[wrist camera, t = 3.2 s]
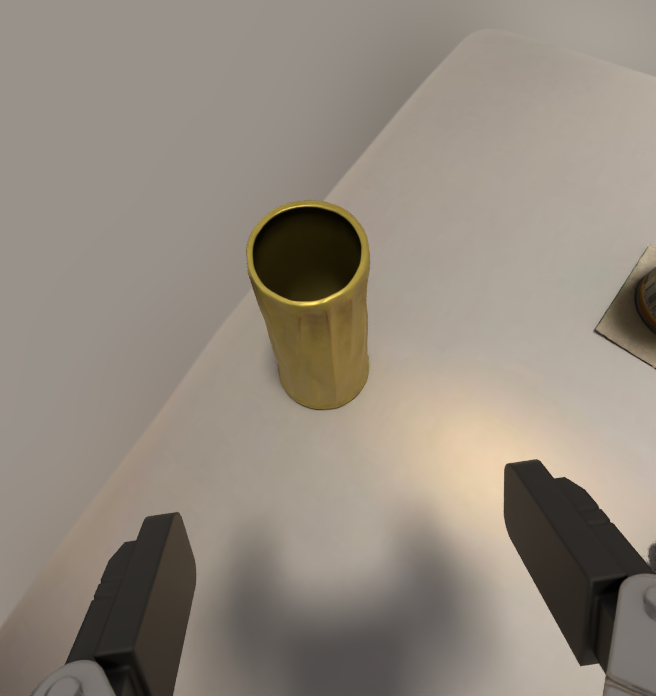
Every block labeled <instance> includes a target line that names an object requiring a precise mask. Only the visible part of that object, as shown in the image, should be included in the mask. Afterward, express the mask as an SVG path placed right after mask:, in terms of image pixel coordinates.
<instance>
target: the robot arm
mask: <svg viewBox="0 0 656 696" xmlns="http://www.w3.org/2000/svg"><path fill="white" fill-rule="evenodd" d="M504 519H505V524H506V528H507V531H508V534H509V537H510V539H511V541H512V543H513V545H514V546H515V548H516V550H517V552H518V554H519V555H520V557H521V559H522V561H523V563H524V565H525V566H526V568H527V570H528V572H529V574H530V575H531V577H532V579H533V581H534V583H535V584H536V586H537V588H538V590H539V592H540V594H541V595H542V597H543V599H544V601H545V603H546V604H547V606H548V608H549V610H550V612H551V614H552V615H553V617H554V619H555V621H556V623H557V624H558V626H559V628H560V630H561V632H562V634H563V635H564V637H565V639H566V641H567V643H568V644H569V646H570V648H571V650H572V652H573V654H574V655H575V657H576V659H577V661H578V663H579V664H580V666H585V665H591V664H598V663H599V664H600V666H601V667H602V669H603V671H604V672H605V674H606V678H605V684H604V691H603V696H656V574H655V573H654V571H653V570H652V569H651V568H650V567H649V566H648V564H647V563H646V562H645V561H644V560H643V558H642V557H641V556H640V555H639V554H638V552H637V551H636V550H635V549H634V548H633V546H632V545H631V544H630V543H629V542H628V540H627V539H626V538H625V537H624V536H623V534H622V533H621V532H620V531H619V530H618V529H617V527H616V526H615V525H614V524H613V523H611V522H610V519H609V518H608V517H607V515H606V514H605V513H604V512H603V511H602V509H599V507H598V505H597V503H596V502H595V501H594V500H593V499H592V497H591V496H590V495H589V494H588V493H587V492H586V490H585V489H583V488H581V487H580V486H578V485H577V484H575V483H574V482H572V481H570V480H569V479H567V478H566V477H562V478H555V479H554V478H553V477H552V475H551V474H550V473H549V472H548V470H547V469H546V468H545V466H544V465H543V464H542V463H541V461H539V460H537V459H535V460H528V461H522V462H515V463H508V464H506V465H505V469H504ZM195 585H196V565H195V559H194V556H193V552H192V549H191V546H190V543H189V539H188V536H187V533H186V530H185V526H184V523H183V520H182V517H181V515H180V514H179V513H178V512H175V513H168V514H161V515H155V516H148V517H146V518H145V519H144V521H143V524H142V527H141V529H140V532H139V535H138V537H137V540H136V541H130V542H125V543H124V544H123V545H122V546H121V547H120V548H119V550H118V551H117V552H116V553H115V554H114V555H113V556H112V558H111V559H110V560H109V562H108V564H107V566H106V569H105V571H104V573H103V576H102V578H101V584H99V585H98V588H97V590H96V592H95V595H94V600H92V602H91V604H90V606H89V609H88V611H87V614H86V616H85V618H84V621H83V623H82V625H81V628H80V630H79V632H78V635H77V637H76V640H75V642H74V644H73V647H72V649H71V651H70V654H69V656H68V658H67V661H66V663H65V665H64V666H62V667H60V668H58V669H57V670H55V671H54V672H52V673H51V674H50V675H48V676H47V677H46V678H45V679H44V680H43V681H42V682H41V683H40V684H39V685H38V686H37V687H36V688H35V690H34V691H33V692H32V694H31V695H30V696H173V692H174V687H175V682H176V678H177V673H178V668H179V663H180V658H181V653H182V649H183V644H184V639H185V634H186V629H187V624H188V620H189V615H190V610H191V605H192V600H193V595H194V591H195Z"/></svg>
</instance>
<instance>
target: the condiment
mask: <svg viewBox="0 0 656 696" xmlns="http://www.w3.org/2000/svg"><path fill="white" fill-rule="evenodd" d="M596 330H597V331H598V332H600V333H602V334H603V335H605V336H607V338H609V339H610V340H612V341H614V342H615V343H617V344H618V345H620V346H621V347H623V348H625V349H627V350H628V351H629V352H631V353H632V354H634V355H636V356H637V357H639V358H641V359H642V360H644V361H646V362H648V363H649V364H651V365H652V367H654V368H656V247H654V246H652V245H649V247H648V248H647V250H646V251H645V253H644V254H643V256H642V257H641V259H640V260H639V262H638V264H637V266H636V267H635V268H634V270H633V271H632V273H631V274H630V276H629V278H628V279H627V281H626V282H625V284H624V286H623V287H622V289H621V291H620V292H619V294H618V296H617V297H616V298H615V300H614V301H613V303H612V304H611V306H610V307H609V309H608V311H607V312H606V314H605V316H604V317H603V319H602V320H601V322H600V323H599V325H598V327H597V328H596Z"/></svg>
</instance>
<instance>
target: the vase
mask: <svg viewBox="0 0 656 696" xmlns="http://www.w3.org/2000/svg"><path fill="white" fill-rule="evenodd" d="M246 255H247V267H248V275H249V278H250V280H251V284H252V287H253V290H254V293H255V296H256V299H257V302H258V305H259V307H260V310H261V313H262V315H263V317H264V320H265V323H266V326H267V330H268V334H269V338H270V341H271V344H272V348H273V351H274V354H275V356H276V359H277V361H278V371H279V377H280V381H281V384H282V386H283V388H284V389H285V391H286V392H287V393H288V395H289V396H290V397H291V398H292V399H294V400H295V401H296V402H298V403H300V404H302V405H304V406H307V407H309V408H313V409H331V408H337V407H340V406H342V405H344V404H346V403H348V402H349V401H351V400H352V399H354V398H355V397H356V396H357V395H358V393H359V392H360V391H361V389H362V388H363V386H364V385H365V383H366V380H367V378H368V372H369V358H368V354H367V337H368V314H367V304H366V294H367V282H368V275H369V270H370V253H369V244H368V240H367V236H366V233H365V231H364V229H363V228H362V226H361V224H360V223H359V222H358V221H357V219H356V218H355V217H354V216H353V215H351V214H350V213H349V212H348V211H346V210H345V209H343V208H341V207H339V206H337V205H334V204H330V203H327V202H323V201H314V200H306V201H296V202H291V203H287V204H284V205H282V206H280V207H278V208H276V209H274V210H272V211H271V212H269V213H268V214H267V215H266V216H265V217H264V218H263V219H262V220H261V221H260V222H259V223H258V224H257V225H256V226H255V227H254V229H253V231H252V232H251V234H250V237H249V239H248V243H247V248H246Z"/></svg>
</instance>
